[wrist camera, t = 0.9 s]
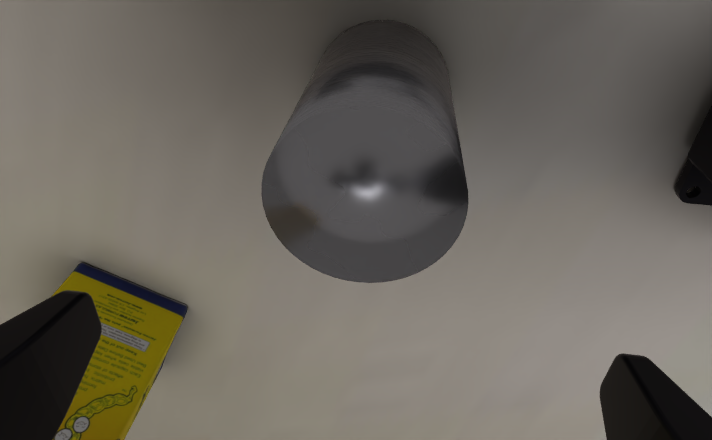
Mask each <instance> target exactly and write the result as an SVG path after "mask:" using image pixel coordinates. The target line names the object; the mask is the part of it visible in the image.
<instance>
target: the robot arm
mask: <svg viewBox="0 0 712 440" xmlns="http://www.w3.org/2000/svg"><path fill="white" fill-rule="evenodd" d="M688 158H689V159H688V161H687V163H686V165H685V167H684V169H683V171H682V173H681V176H680V178H679V180H678V182H677V184H676V186H675V193H676V195H677V196H678V197H679V198H680V200H682V201H683V202H685V203H691V204H702V205H712V106H711V108H710V110H709V112H708V114H707V116H706V118H705V120H704V122H703V125H702V127H701V129H700V131H699V133H698V135H697V137H696V139H695V141H694V143H693V145H692V147H691V149H690V151H689V153H688ZM695 186H696V188H695V189H694V190H693V191H691V192H687V190H688V189H689V188H691V187H695ZM686 192H687V193H686ZM101 331H102V326H101V322H100V319H99V316H98V313H97V310H96V307H95V304H94V302H93V299H92V297H91V295H89V294H88V293H86V292H80V291H71V290H65V291H62V292H60V293H58V294H56V295H54V296H52V297H50V298H48V299H47V300H45V301H43V302H41V303H39V304H37V305H36V306H34V307H32V308H30V309H28V310H27V311H25V312H23V313H21V314H19V315H17V316H16V317H14V318H12V319H10V320H8V321H6V322H5V323H3V324H1V325H0V440H53V438H54V436H55V435H56V433H57V431H58V429H59V427H60V425H61V424H62V422H63V420H64V418H65V416H66V414H67V412H68V410H69V407H70V405H71V403H72V401H73V399H74V396H75V394H76V392H77V390H78V387H79V385H80V383H81V380H82V378H83V376H84V374H85V371H86V369H87V367H88V364H89V362H90V360H91V358H92V355H93V353H94V351H95V349H96V346H97V344H98V342H99V339H100V336H101ZM600 401H601V407H602V413H603V419H604V426H605V432H606V438H607V440H712V417H711V416H710V415H709V414H708V413H707V412H705V411H704V410H703V409H702V408H701V407H700V406H699V405H698V404H697V403H696V402H695V401H694V400H693V399H692V398H690V397H689V396H688V395H687V394H686V393H685V392H684V391H683V390H682V389H681V388H680V387H679V386H678V385H677V384H675V383H674V382H673V381H672V380H671V379H670V378H669V377H668V376H667V375H666V374H665V373H664V372H663V371H662V370H660V369H659V368H658V367H657V366H656V365H655V364H654V363H653V362H652V361H651V360H649V359H648V358H646V357H644V356H640V355H631V354H619V355H618V356H616V357H615V359H614V361H613V363H612V365H611V366H610V368H609V370H608V372H607V374H606V376H605V378H604V380H603V382H602V384H601V387H600Z"/></svg>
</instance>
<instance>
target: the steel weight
mask: <svg viewBox="0 0 712 440" xmlns="http://www.w3.org/2000/svg"><path fill="white" fill-rule="evenodd" d="M262 200H263V207H264V210H265V214H266V217H267V219H268V222H269V224H270V226H271V228H272V230H273V231H274V233H275V234H276V236H277V238H278V239H279V240H280V241H281V243H282V244H283V245H284V246H285V247H286V248H287V249H288V250H289V251H290V252H291V253H292V254H293V255H294V256H296V257H297V258H298V259H299V260H301V261H302V262H303V263H305V264H307V265H308V266H310V267H312V268H313V269H315V270H318V271H320V272H322V273H324V274H327V275H329V276H332V277H335V278H339V279H343V280H348V281H354V282H366V283H375V282H386V281H393V280H397V279H401V278H405V277H408V276H411V275H413V274H416V273H418V272H420V271H422V270H424V269H426V268H427V267H429V266H430V265H432V264H433V263H435V262H436V261H437V260H439V259H440V258H441V257H442V256H443V255H444V254H445V253H446V252H447V251H448V250H449V249H450V248H451V247H452V245H453V244H454V242H455V241H456V239H457V238H458V236H459V234H460V232H461V230H462V228H463V226H464V222H465V219H466V216H467V209H468V189H467V183H466V177H465V171H464V165H463V159H462V153H461V147H460V141H459V135H458V129H457V123H456V117H455V111H454V105H453V99H452V93H451V87H450V81H449V75H448V70H447V67H446V64H445V61H444V59H443V57H442V55H441V53H440V51H439V50H438V48H437V47H436V46H435V44H434V43H433V42H432V41H431V40H430V39H429V38H428V37H427V36H425V35H424V34H423V33H422V32H420V31H419V30H417V29H415V28H413V27H411V26H409V25H407V24H404V23H400V22H397V21H390V20H375V21H368V22H364V23H361V24H358V25H356V26H353V27H351V28H349V29H348V30H346V31H344V32H343V33H342V34H341V35H339V36H338V37H337V38H336V39H335V40H334V41H333V42H332V43H331V44H330V45H329V47H328V48H327V50H326V51H325V53H324V55H323V57H322V59H321V60H320V62H319V64H318V66H317V68H316V70H315V72H314V74H313V76H312V77H311V79H310V81H309V83H308V85H307V87H306V89H305V91H304V93H303V94H302V96H301V98H300V100H299V102H298V104H297V106H296V108H295V110H294V111H293V113H292V115H291V117H290V119H289V121H288V123H287V125H286V127H285V128H284V130H283V132H282V134H281V136H280V138H279V140H278V142H277V144H276V146H275V147H274V149H273V151H272V153H271V155H270V157H269V159H268V161H267V164H266V167H265V170H264V173H263V180H262Z"/></svg>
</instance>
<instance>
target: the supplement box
mask: <svg viewBox="0 0 712 440" xmlns="http://www.w3.org/2000/svg"><path fill="white" fill-rule="evenodd" d="M65 290H71V291H80V292H86V293H88V294H89V295H91V297H92V299H93V302H94V304H95V307H96V310H97V313H98V316H99V319H100V322H101V326H102V331H101V336H100V339H99V342H98V344H97V346H96V349H95V351H94V353H93V355H92V358H91V360H90V362H89V364H88V367H87V369H86V371H85V374H84V376H83V378H82V380H81V383H80V385H79V387H78V390H77V392H76V394H75V396H74V399H73V401H72V403H71V405H70V407H69V410H68V412H67V414H66V416H65V418H64V420H63V422H62V424H61V425H60V427H59V429H58V431H57V433H56V435H55V436H54V438H53V440H124V439H125V437H126V435H127V433H128V431H129V429H130V427H131V425H132V423H133V422H134V420H135V418H136V416H137V414H138V412H139V410H140V408H141V406H142V405H143V403H144V401H145V399H146V397H147V395H148V393H149V391H150V389H151V387H152V385H153V384H154V382H155V380H156V378H157V376H158V374H159V372H160V370H161V368H162V365H163V362H164V359H165V356H166V354H167V352H168V349H169V347H170V345H171V343H172V341H173V339H174V337H175V335H176V333H177V331H178V329H179V327H180V325H181V323H182V321H183V319H184V317H185V315H186V312H187V305H185V304H183V303H180V302H177V301H175V300H173V299H170V298H167V297H165V296H162V295H160V294H157V293H155V292H153V291H151V290H148V289H146V288H144V287H141V286H139V285H137V284H134V283H132V282H129V281H127V280H124V279H122V278H120V277H117V276H115V275H112V274H110V273H108V272H105V271H103V270H100V269H97V268H94V267H92V266H90V265H87V264H85V263H80V264H79V265H78V266H77V267H76V269H75V270H74V271H73V272H72V273H71V275H70V276H69V277H68V278H67V279H66V280H65V281H64V283H63V284H62V285H61V286H60V287H59V289H58V290H57V291H56V292H55V293H54V294H53V295H52V296H54V295H56V294H58V293H60V292H62V291H65ZM52 296H51V297H52Z"/></svg>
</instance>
